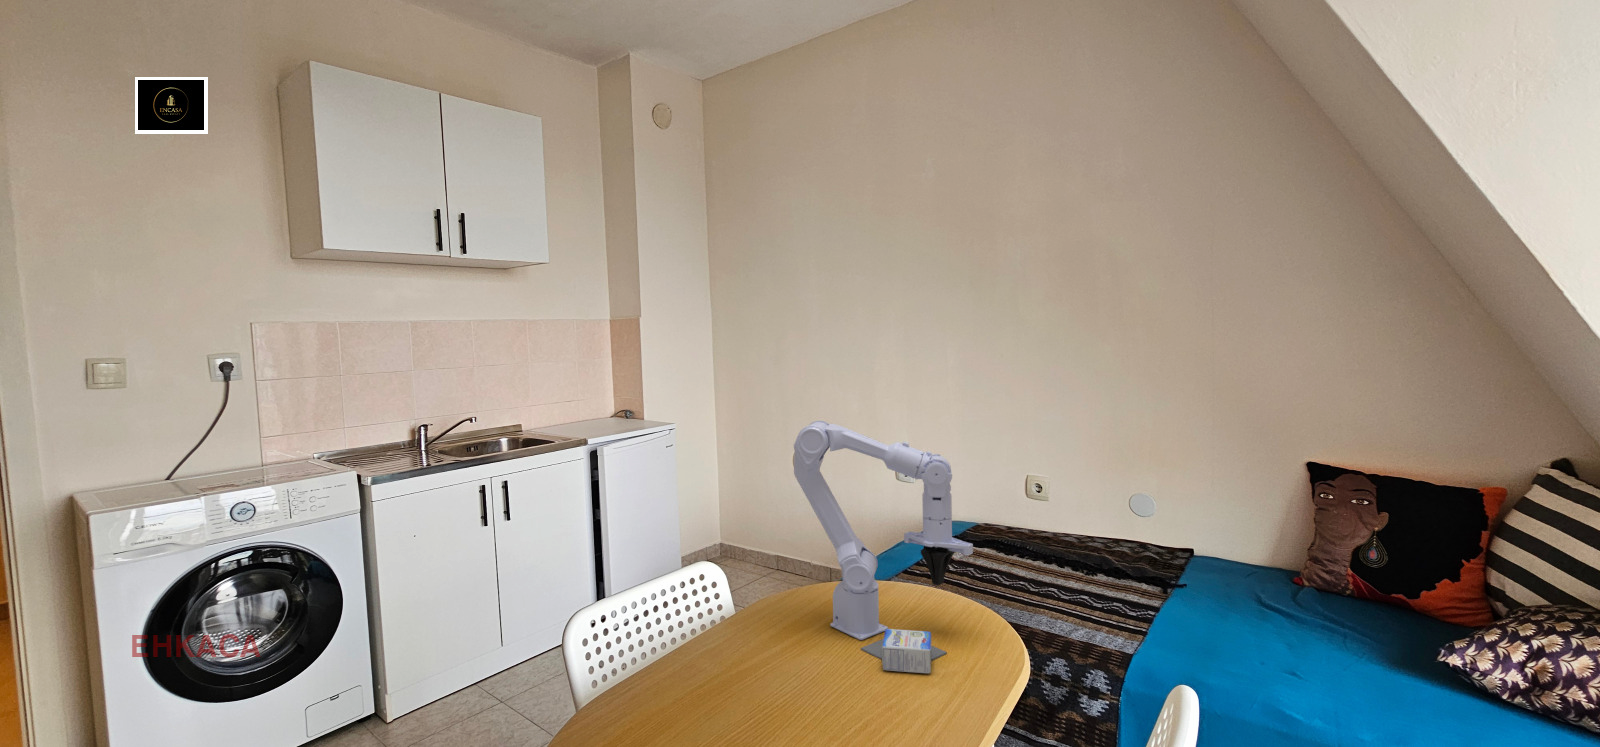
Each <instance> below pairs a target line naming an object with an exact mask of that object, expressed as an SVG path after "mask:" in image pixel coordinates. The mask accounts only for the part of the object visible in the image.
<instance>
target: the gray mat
mask: <svg viewBox="0 0 1600 747" xmlns="http://www.w3.org/2000/svg"><path fill="white" fill-rule="evenodd" d="M883 639H884V638H882V639H879V640H877V641H875V642H872V643H870V644H867V645H865V646H863V647H860V650H861V651H863V652H865V653H867V654H869V655H871V656H873V657H875V658H877V659H879V660H881V661H882V645H883ZM947 653H948V652H947V651H946V650H943V649H941V648H938V647H936V646H934V645H932V644H931V662H932V661H935V660H937V659H939V658H941V657H943V656H945V655H948V654H947Z"/></svg>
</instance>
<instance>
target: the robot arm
mask: <svg viewBox="0 0 1600 747" xmlns="http://www.w3.org/2000/svg"><path fill="white" fill-rule="evenodd" d="M797 434H798V435H797V437H796V439H795V441H794V444H793V448H794V457H793V458H794V459H793V461H794V462H793V474H794V477H795V479H796V481H797V482H798V484H799V486H800V488H801V490H802V492H803V494H804V496H805V497H806V498H807V501H808V502H809V505H810V506H811V508H812V510H813V511H814V513H815V515H816V516H817V518H818V521H819V523H820V524H821V526H822V527H823V530H824V532H825V533H826V535H827V537H828V539H829V540H830V542H831V543H832V545H833V548H834V550H835V553H836V557H837V558H836V559H837V563H838V565H839V566H840V569H841V574H842V581H840V582H838V583H837V585H836V586H835V587H834V590H833V593H832V622H831V623H829V624H830V627H831V628H834V629H836V630H838V631H840V632H842V633H845V635H846V634H847V635H849V636H850V637H853V638H855V639H856V640H860V641H863V640H865V639H868V638H870V637H873V636H875V635H878V634H880V633H883V632H885V630H886V629H889V627H888V626H886V625H884V624H882V623H880V612H879V611H880V608H879V605H880V603H879V601H880V600H879V599H880V598H879V583H878V582H877V580H876V579H875V574H876V571H877V569H878V559H877V556H876V554H874V552H873V551H871V550H870V549H868V548H867V546H865V544H864V542H863V541H862V540H861V539H860V538H859V537H858V536H857V535H856V533H855V531H854V530H853V528H852V527H851V524H850V523H849V520H848V519H847V517H846V516H845V514H844V511H843V509H842V508H841V506H840V505H839V503H838V500H837V499H836V497H835V496H834V495H835V494H833V492H832V490H831V488H830V486H829V485H828V483H827V482H826V480H825V478H824V476H823V474H822V472H821V470H820V469H821V467H822V463H823V461H824V458H825V455H826V453H827V451H828V450H829V452H834V451H840V450H844V449H848V450H851V451H854V452H857V453H860V454H863V455H866V456H869V457H872V458H876V459H877V460H881V461H883V462H884V464H885V466H886V469H888V470H891V471H894V472H895V473H898V474H901V475H904V476H907V477H908V478H909V477H910V478H912V479H915V480H922V483H923V493H922V532H917V531H907V532H904V533H903V539H904V543H906V544H910V543H911V544H916V545H921V546H923V548H922V549H921V550H920V554H921V557H922V558H923V560H924V562H925V563H926V566H927V569H928V572H929V575H930V578H931V583H932V585H934V586H937V587H938V586H940V585H942V584H944V582H945V576H946V572H947V569H948V566H949V563H950V561H951V559H952V558H953V556H954V554H955V553H958V554H963V556H966V557H967V556H968V557H969V556H970V555H973V553H974V544H973V543H971V542H967V541H963V540H961V539H958V538H955V537H953V529H952V528H953V524H952V523H953V521H952V519H953V517H952V516H953V512H952V511H953V508H952V507H953V504H952V503H953V502H952V497H953V496H952V493H951V491H952V484H951V481H952V479H953V474H952V467H951V464H950V462H949V461H948V460H947V458H946V457H944V456H941V454H939V453H933V452H932V451H929V450H927V451H926V452H925V451H923V450H920V449H917V448H915V447H912V446H910V443H909V442H907V441H904V440H903V441H902V442H898V441H896V442H894V443H891V444H886V443H884V442H882V441H879V440H876V439H874V438H871V437H868V436H866V435H864V434H861V433H859V432H857V431H854V430H852V429H849V428H847V427H845V426H843V425H842V426H841V425H839V424H836V423H830V424H829V423H828V422H826V421H824V420H815V421H812V422H811V423H809V424H808V426H807V425H806V426H805V427H803V428H802V429H800V431H799V432H798V433H797ZM932 453H933V454H932Z"/></svg>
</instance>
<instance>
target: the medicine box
mask: <svg viewBox="0 0 1600 747" xmlns="http://www.w3.org/2000/svg"><path fill="white" fill-rule="evenodd" d="M882 639H883V645H882V660H881V662H882V665H881V666H882V669H883V671H889V672H890V671H893V672H903V673H904V672H906V673H917V674H918V673H919V674H931V670H932V661H931V645H932V633H931V631H925V630H909V629H898V628H897V629H894V628H888V629H886V630H885V631H884V635H883V638H882Z"/></svg>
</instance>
